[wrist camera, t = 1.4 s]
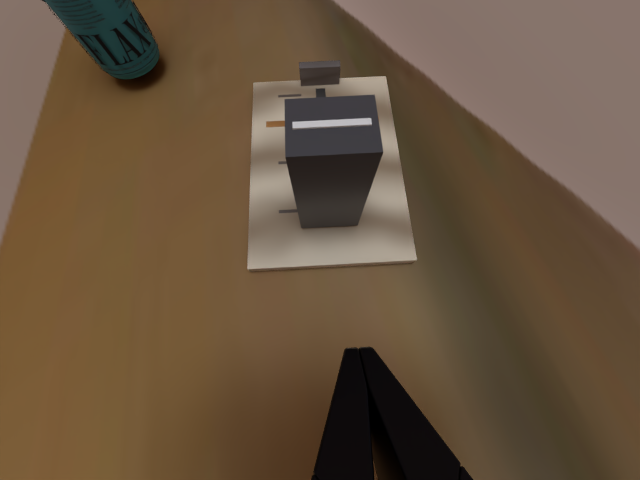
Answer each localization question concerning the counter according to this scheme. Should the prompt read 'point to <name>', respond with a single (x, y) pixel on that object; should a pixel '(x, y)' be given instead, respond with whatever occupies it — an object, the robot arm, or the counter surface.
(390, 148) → the console panel
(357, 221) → the fader cap
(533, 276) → the counter surface
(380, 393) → the robot arm
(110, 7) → the beverage bottle
